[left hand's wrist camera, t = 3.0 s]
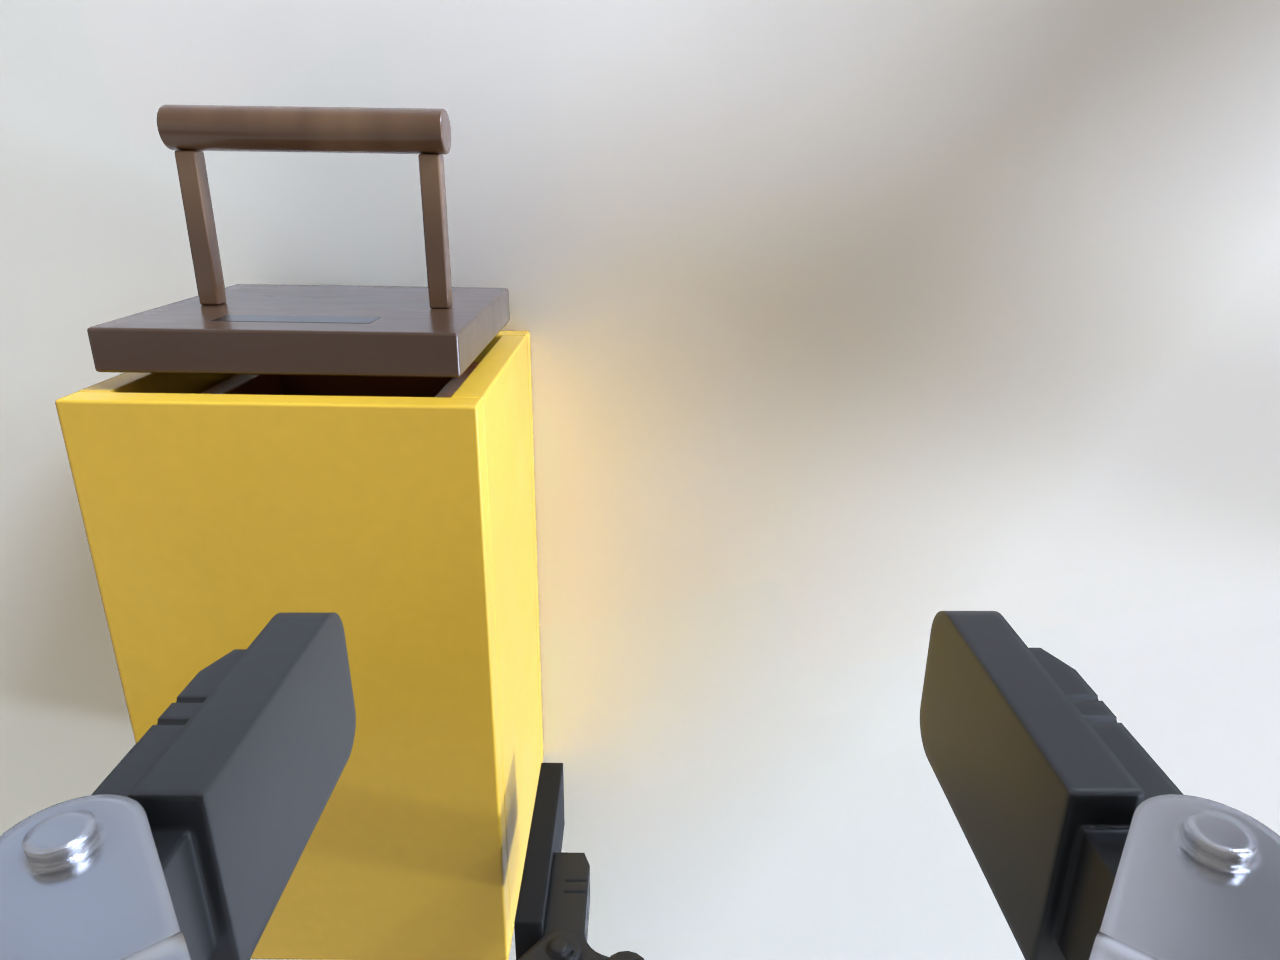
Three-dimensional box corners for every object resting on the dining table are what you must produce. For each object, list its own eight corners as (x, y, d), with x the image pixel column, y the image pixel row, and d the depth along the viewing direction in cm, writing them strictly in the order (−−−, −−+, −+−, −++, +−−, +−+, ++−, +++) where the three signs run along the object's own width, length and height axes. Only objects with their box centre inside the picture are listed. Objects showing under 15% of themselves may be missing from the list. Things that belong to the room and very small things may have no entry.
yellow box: (239, 326, 32) (53, 400, 22) (530, 330, 32) (477, 406, 22) (304, 753, 38) (185, 958, 28) (543, 757, 38) (508, 964, 28)
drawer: (211, 113, 28) (34, 92, 20) (501, 118, 28) (443, 98, 20) (301, 712, 37) (202, 870, 28) (525, 716, 37) (491, 874, 28)
